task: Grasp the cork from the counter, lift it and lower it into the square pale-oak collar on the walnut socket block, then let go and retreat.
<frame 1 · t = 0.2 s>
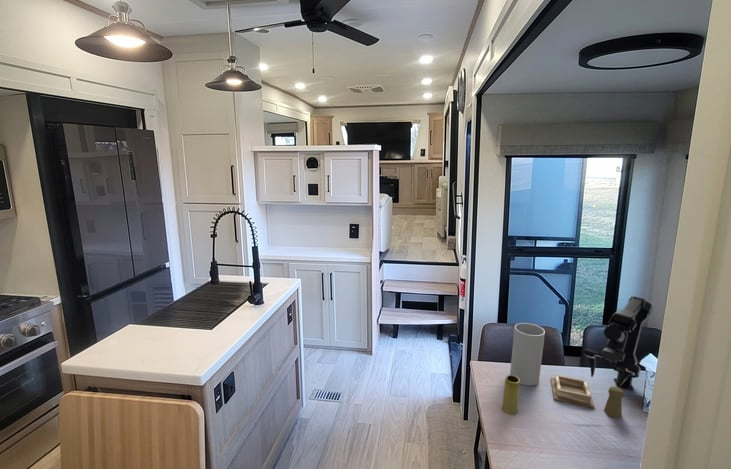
hand: (604, 382, 148), 15 cm above the table, tool tilted 30°, fingers open, 9 cm apart
socket block: (571, 393, 165), on the table
vase: (509, 410, 154), on the table
cylinder vase: (524, 379, 175), on the table
cork: (612, 413, 152), on the table
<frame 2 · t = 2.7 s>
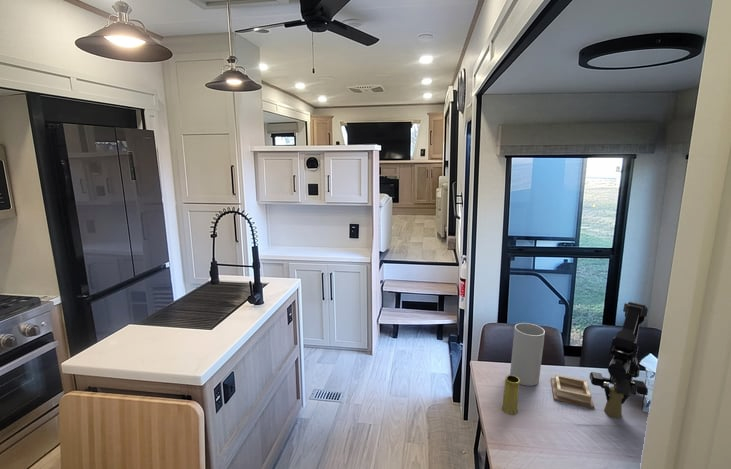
hand: (614, 401, 151), 5 cm above the table, tool pointing down, fingers closed on cork, 5 cm apart
cork: (612, 413, 152), on the table, touching gripper
everything else where it was.
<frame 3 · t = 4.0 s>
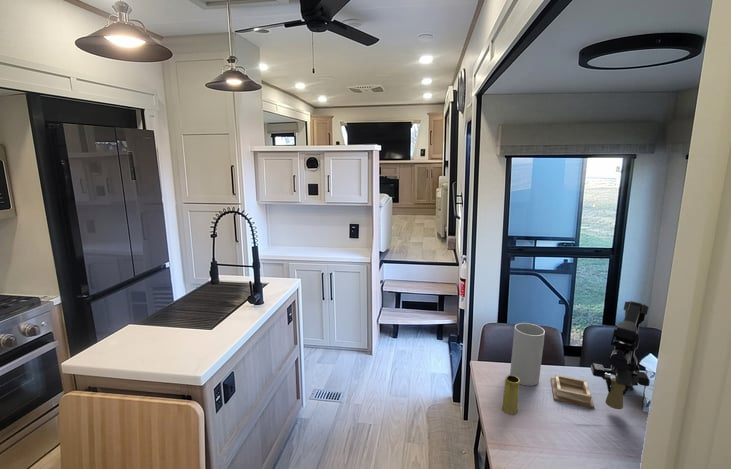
hand: (615, 393, 150), 9 cm above the table, tool pointing down, fingers closed on cork, 5 cm apart
cork: (614, 404, 151), point 4 cm above the table, touching gripper
everything else where it was.
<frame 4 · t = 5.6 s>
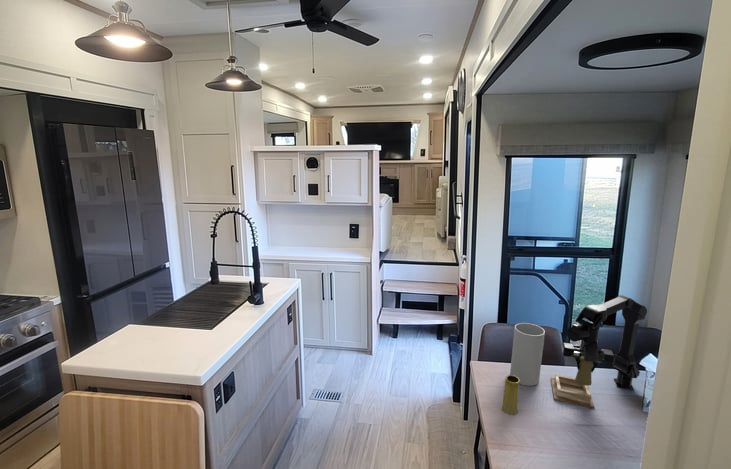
hand: (584, 370, 159), 13 cm above the table, tool pointing down, fingers closed on cork, 5 cm apart
cork: (583, 381, 160), point 8 cm above the table, touching gripper
everything else where it was.
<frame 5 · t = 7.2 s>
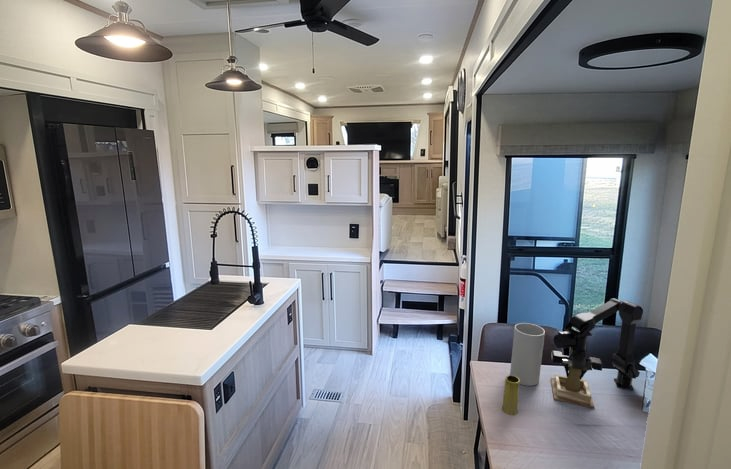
hand: (573, 377, 163), 7 cm above the table, tool pointing down, fingers closed on cork, 5 cm apart
cork: (572, 388, 164), point 2 cm above the table, touching gripper
everything else where it was.
when the fingers open (6 cm above the table, at t = 8.6 s): cork stays where it is, resting on socket block.
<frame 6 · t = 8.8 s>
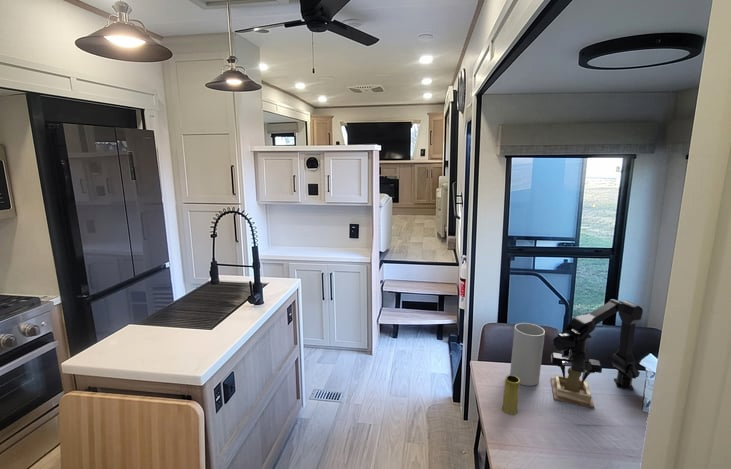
hand: (573, 380, 163), 6 cm above the table, tool pointing down, fingers open, 7 cm apart
cork: (571, 391, 164), point 1 cm above the table, touching socket block
everything else where it was.
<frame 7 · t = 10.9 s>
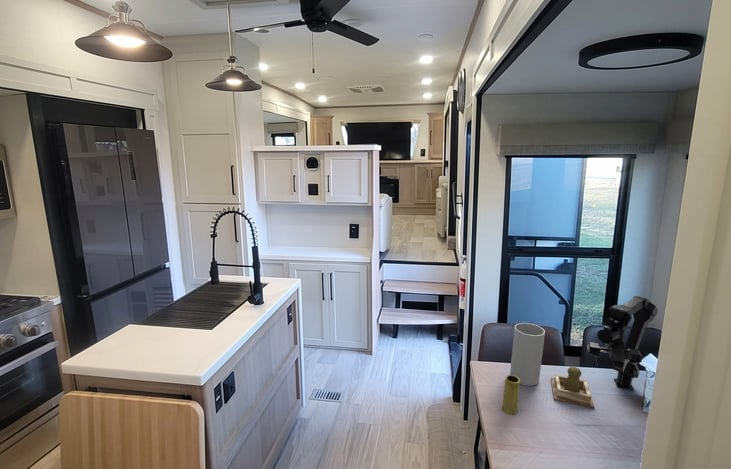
hand: (610, 369, 160), 13 cm above the table, tool pointing down, fingers open, 9 cm apart
nothing on the table moved.
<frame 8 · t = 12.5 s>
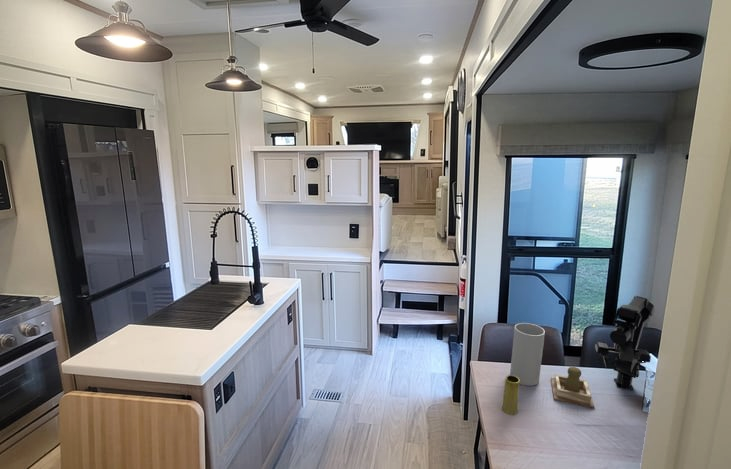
hand: (618, 370, 159), 13 cm above the table, tool pointing down, fingers open, 9 cm apart
nothing on the table moved.
at the end: cork 0.1 cm off-centre on the socket block, point 0.8 cm above the socket block's base; cork tilted 0°; the gripper is holding nothing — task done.
